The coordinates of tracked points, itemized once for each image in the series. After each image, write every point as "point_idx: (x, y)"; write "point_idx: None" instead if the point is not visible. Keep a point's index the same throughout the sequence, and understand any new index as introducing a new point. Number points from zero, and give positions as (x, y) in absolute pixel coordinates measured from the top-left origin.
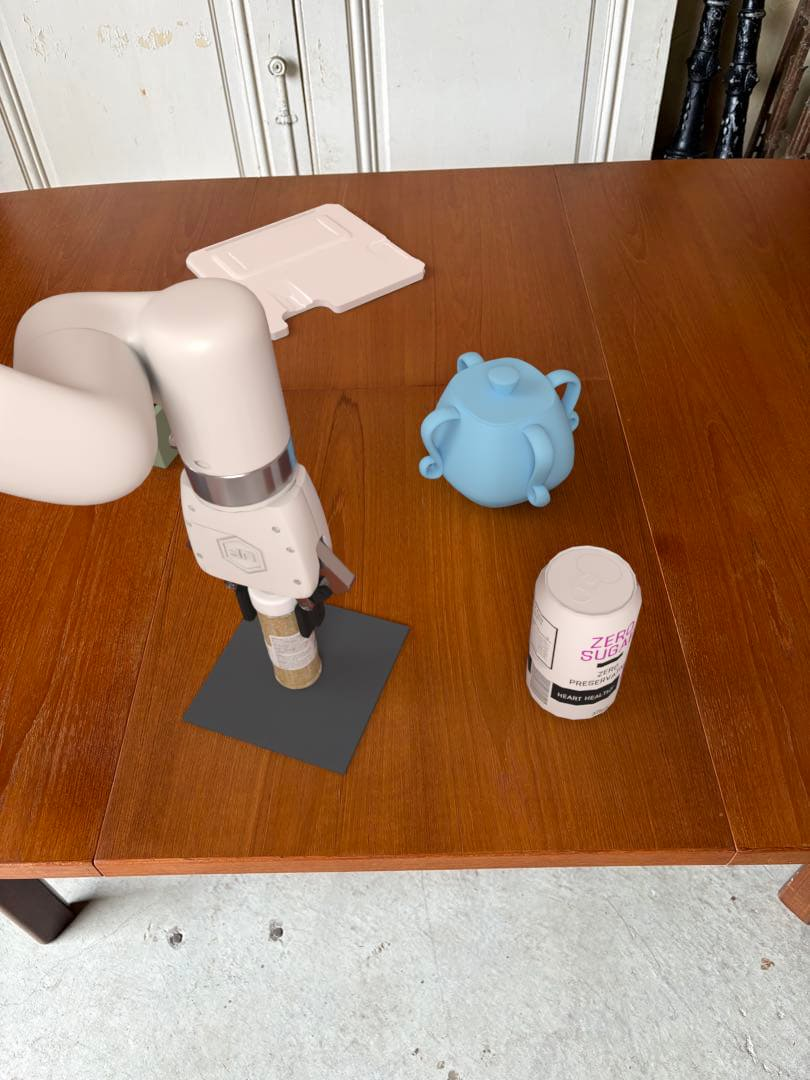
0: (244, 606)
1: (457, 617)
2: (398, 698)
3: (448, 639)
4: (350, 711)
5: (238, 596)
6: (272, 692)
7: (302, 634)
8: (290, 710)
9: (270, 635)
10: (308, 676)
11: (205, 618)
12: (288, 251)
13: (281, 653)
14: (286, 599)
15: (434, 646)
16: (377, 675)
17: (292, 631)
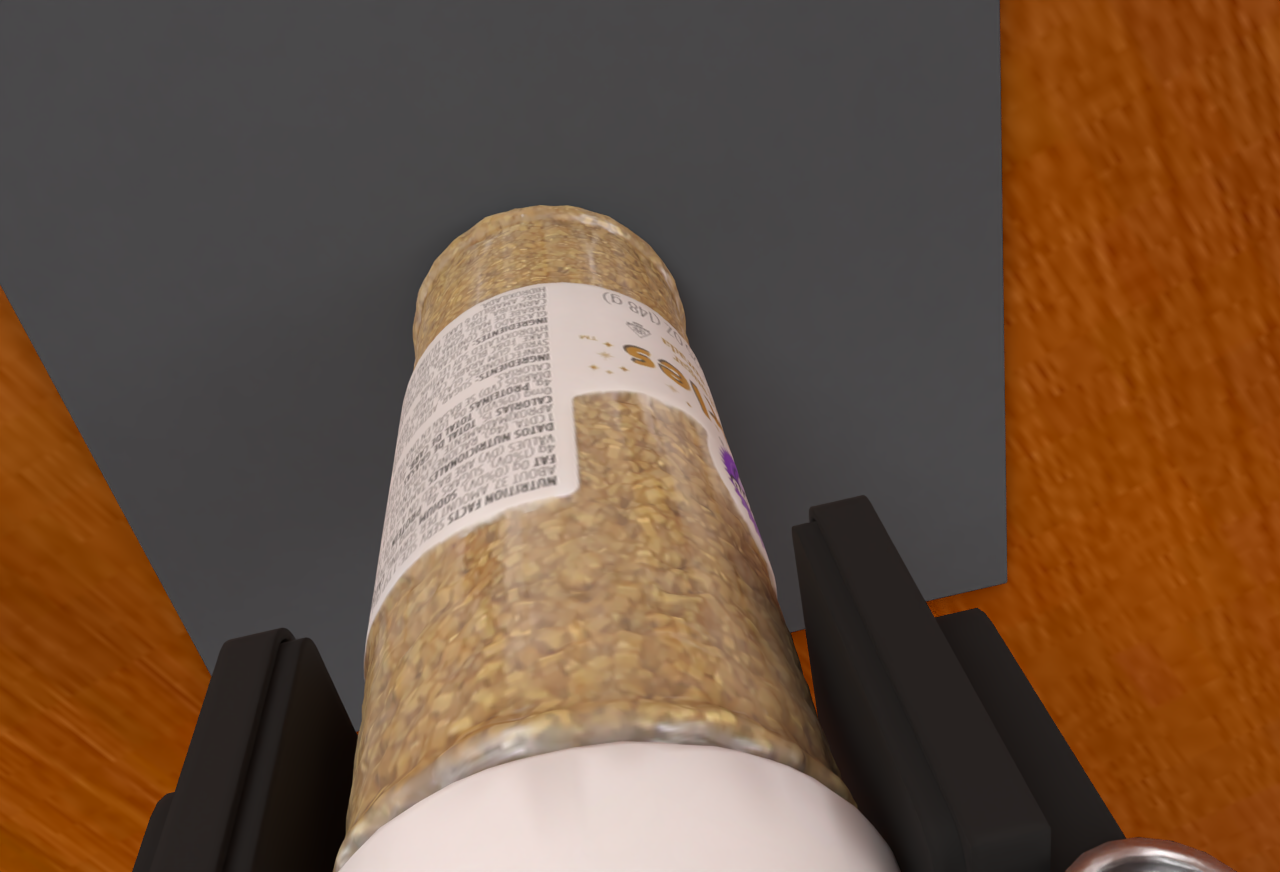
0: (888, 668)
1: (132, 866)
2: (4, 462)
3: (76, 783)
4: (121, 277)
5: (990, 794)
6: (588, 139)
7: (259, 662)
8: (413, 98)
9: (561, 495)
10: (420, 327)
11: (1197, 307)
12: None
13: (499, 386)
14: None
15: (98, 733)
16: (178, 507)
17: (387, 629)
